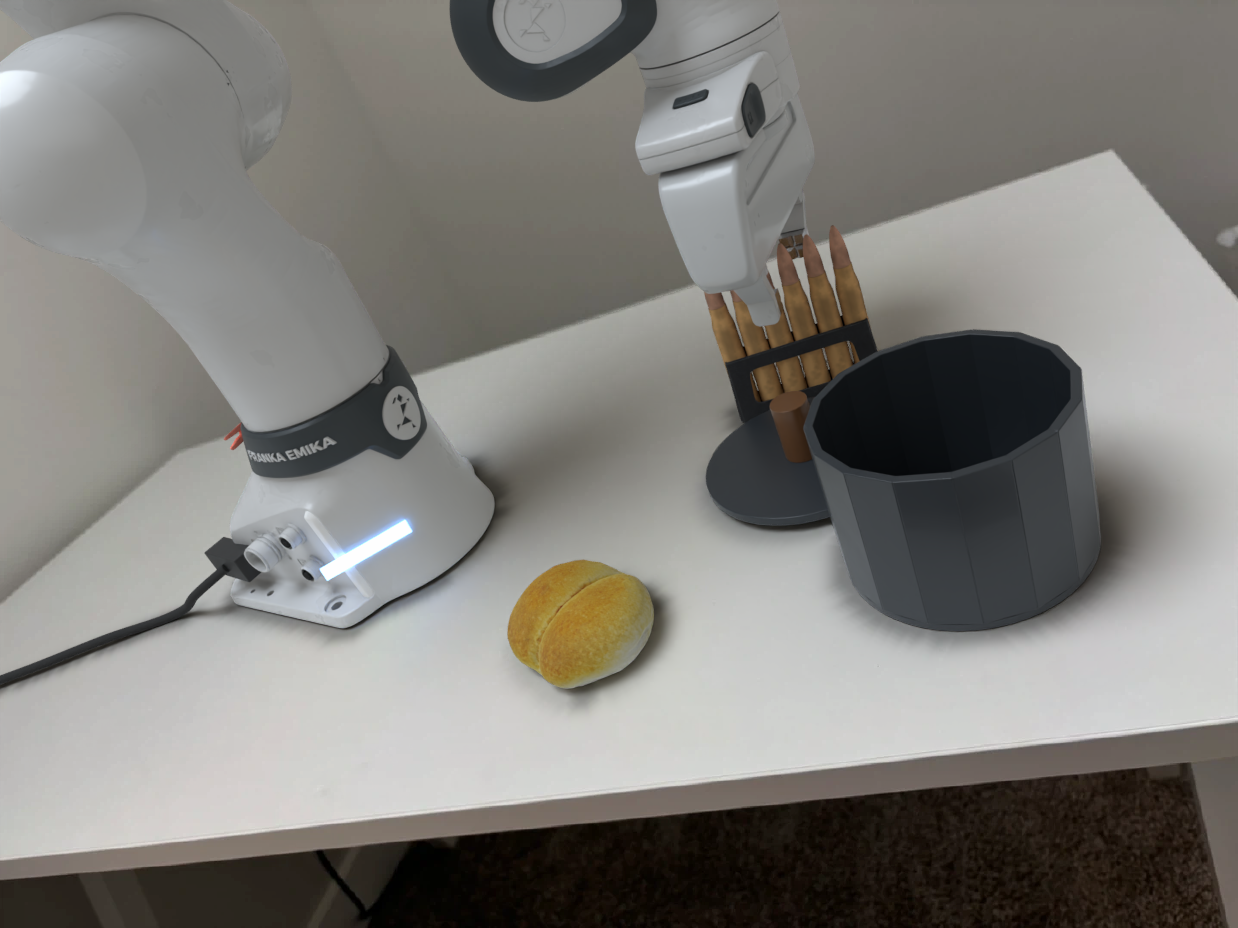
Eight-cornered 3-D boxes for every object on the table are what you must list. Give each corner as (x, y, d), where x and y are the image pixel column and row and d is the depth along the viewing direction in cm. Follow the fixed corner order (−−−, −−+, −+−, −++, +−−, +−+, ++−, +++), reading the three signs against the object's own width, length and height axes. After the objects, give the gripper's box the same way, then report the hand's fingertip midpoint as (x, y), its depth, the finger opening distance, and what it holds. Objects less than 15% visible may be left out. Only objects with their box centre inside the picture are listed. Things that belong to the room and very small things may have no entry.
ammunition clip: (741, 423, 70) (691, 278, 64) (739, 411, 71) (690, 267, 65) (886, 380, 68) (849, 225, 62) (881, 368, 69) (843, 215, 63)
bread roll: (586, 715, 51) (558, 664, 49) (500, 654, 58) (472, 607, 56) (690, 617, 55) (667, 566, 53) (597, 570, 61) (574, 523, 59)
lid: (687, 539, 61) (660, 475, 58) (736, 419, 71) (716, 360, 68) (900, 527, 55) (881, 454, 52) (922, 397, 64) (907, 331, 62)
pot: (828, 631, 50) (781, 490, 45) (865, 479, 59) (829, 349, 55) (1105, 632, 44) (1084, 468, 39) (1097, 461, 53) (1080, 313, 48)
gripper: (719, 51, 67) (774, 229, 74) (623, 161, 52) (703, 371, 59) (805, 22, 64) (854, 211, 71) (729, 130, 49) (801, 356, 56)
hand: (785, 285), depth 65 cm, fingers open, 8 cm apart
